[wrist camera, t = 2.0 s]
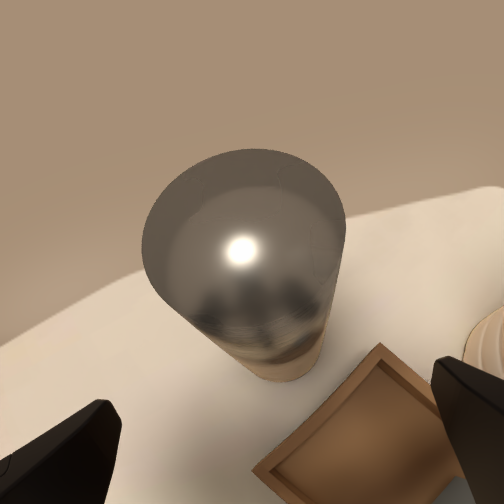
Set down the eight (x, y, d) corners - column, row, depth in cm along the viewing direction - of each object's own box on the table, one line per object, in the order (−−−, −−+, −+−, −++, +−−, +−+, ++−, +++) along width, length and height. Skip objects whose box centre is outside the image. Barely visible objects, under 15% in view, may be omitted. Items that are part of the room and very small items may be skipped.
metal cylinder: (338, 339, 18) (386, 213, 7) (280, 399, 17) (230, 377, 6) (280, 288, 20) (244, 127, 9) (223, 342, 19) (111, 233, 8)
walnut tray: (509, 475, 11) (536, 479, 8) (418, 575, 9) (434, 595, 6) (367, 354, 17) (379, 342, 14) (260, 460, 15) (250, 470, 12)
